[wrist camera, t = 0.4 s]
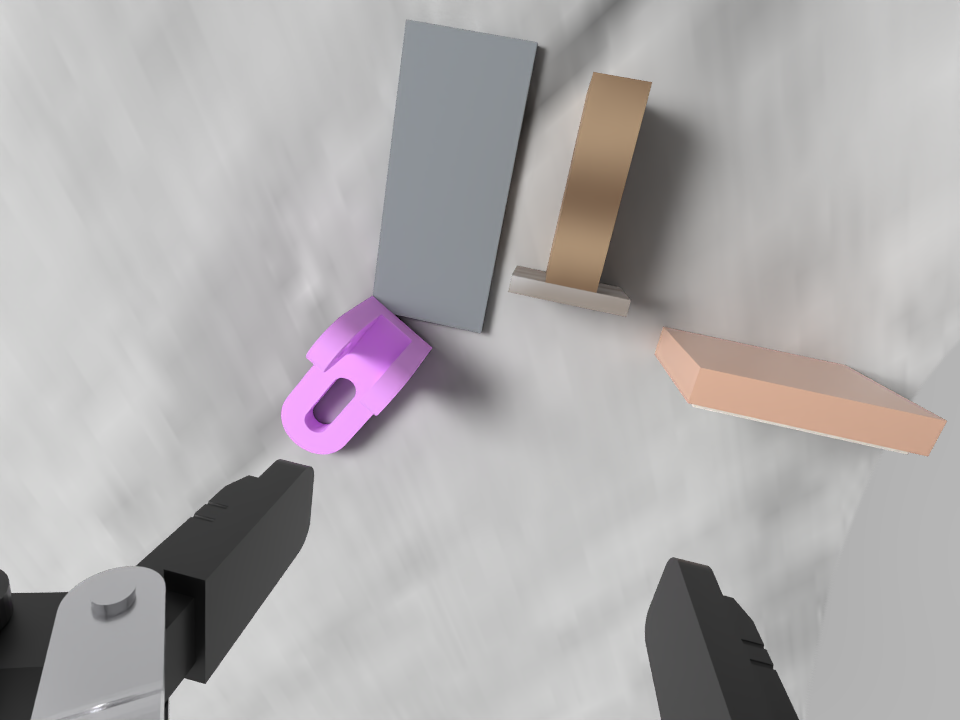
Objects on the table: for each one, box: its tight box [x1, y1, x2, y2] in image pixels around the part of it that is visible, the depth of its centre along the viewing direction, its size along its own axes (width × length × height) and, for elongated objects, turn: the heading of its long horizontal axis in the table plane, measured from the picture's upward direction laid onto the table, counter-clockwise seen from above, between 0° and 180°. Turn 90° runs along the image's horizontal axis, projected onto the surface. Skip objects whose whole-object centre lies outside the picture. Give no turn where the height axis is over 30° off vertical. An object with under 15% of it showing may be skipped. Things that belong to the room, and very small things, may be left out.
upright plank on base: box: [508, 72, 652, 317], centre depth 30 cm, size 12×7×5 cm, turn 169°
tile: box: [655, 327, 947, 456], centre depth 30 cm, size 2×12×9 cm, turn 79°
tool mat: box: [373, 20, 538, 333], centre depth 33 cm, size 18×8×1 cm, turn 169°
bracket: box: [281, 296, 432, 454], centre depth 35 cm, size 13×6×7 cm, turn 138°
